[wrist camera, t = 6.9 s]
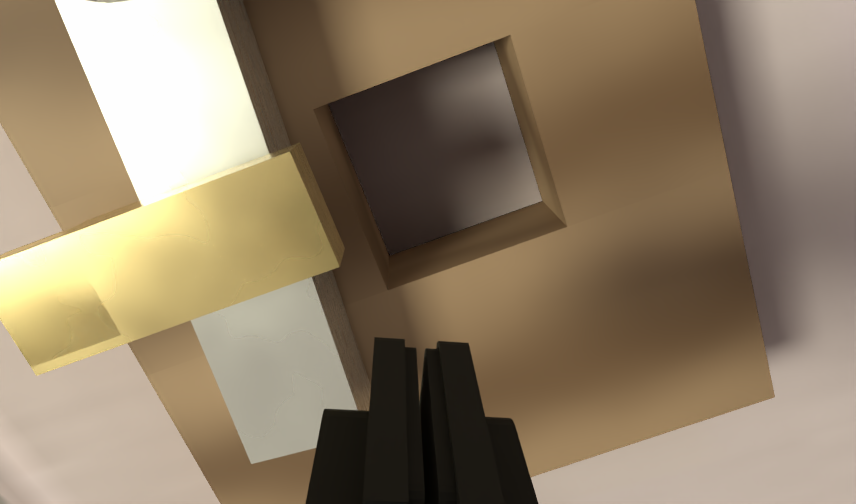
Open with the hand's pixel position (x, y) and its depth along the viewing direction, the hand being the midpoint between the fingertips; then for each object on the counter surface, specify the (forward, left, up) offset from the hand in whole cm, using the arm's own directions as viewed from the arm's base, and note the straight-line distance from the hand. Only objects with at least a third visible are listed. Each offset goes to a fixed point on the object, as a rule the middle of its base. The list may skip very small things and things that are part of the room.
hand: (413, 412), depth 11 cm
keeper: (-4, -4, -6) cm, 8 cm away
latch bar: (-5, -3, -6) cm, 9 cm away
